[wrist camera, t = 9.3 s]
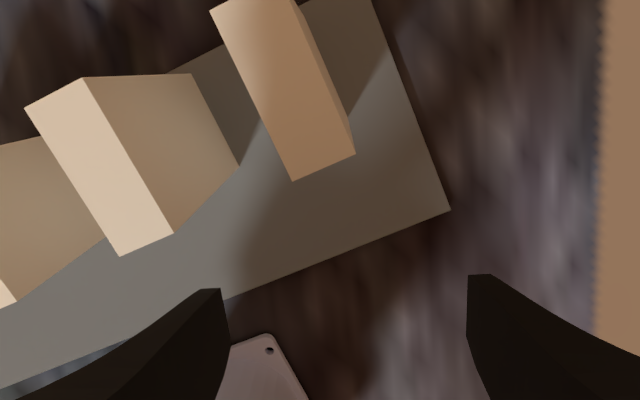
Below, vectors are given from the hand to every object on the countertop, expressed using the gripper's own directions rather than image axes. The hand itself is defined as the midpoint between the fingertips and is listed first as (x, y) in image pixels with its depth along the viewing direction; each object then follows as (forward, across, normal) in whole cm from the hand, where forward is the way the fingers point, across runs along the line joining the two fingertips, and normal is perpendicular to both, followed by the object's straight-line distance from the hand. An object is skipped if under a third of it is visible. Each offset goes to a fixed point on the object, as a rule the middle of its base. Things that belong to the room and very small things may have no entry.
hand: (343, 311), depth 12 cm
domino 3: (+10, +1, -6) cm, 12 cm away
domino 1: (+10, +13, -2) cm, 16 cm away
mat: (+10, +12, +1) cm, 16 cm away
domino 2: (+10, +7, -4) cm, 13 cm away
